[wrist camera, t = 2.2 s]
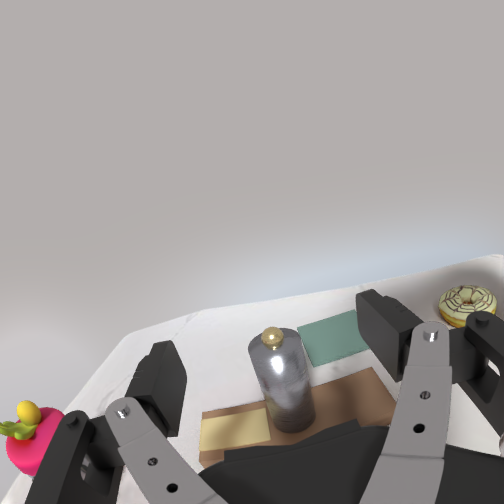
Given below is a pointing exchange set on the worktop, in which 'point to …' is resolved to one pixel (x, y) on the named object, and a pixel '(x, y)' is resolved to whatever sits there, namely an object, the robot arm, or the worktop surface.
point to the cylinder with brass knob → (283, 378)
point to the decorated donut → (465, 303)
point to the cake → (32, 436)
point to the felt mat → (332, 338)
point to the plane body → (327, 415)
